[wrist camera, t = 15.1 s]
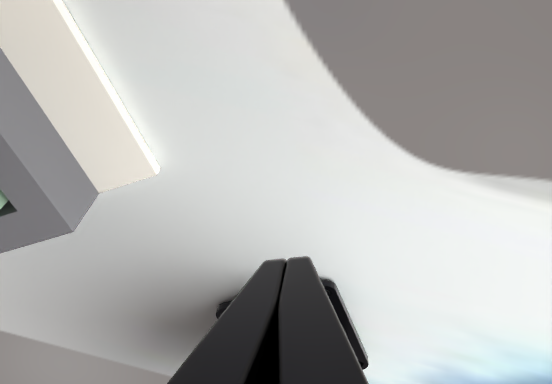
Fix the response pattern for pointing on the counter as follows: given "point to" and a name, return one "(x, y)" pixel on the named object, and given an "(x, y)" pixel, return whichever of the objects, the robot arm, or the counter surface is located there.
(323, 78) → the counter surface
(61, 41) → the picture board
